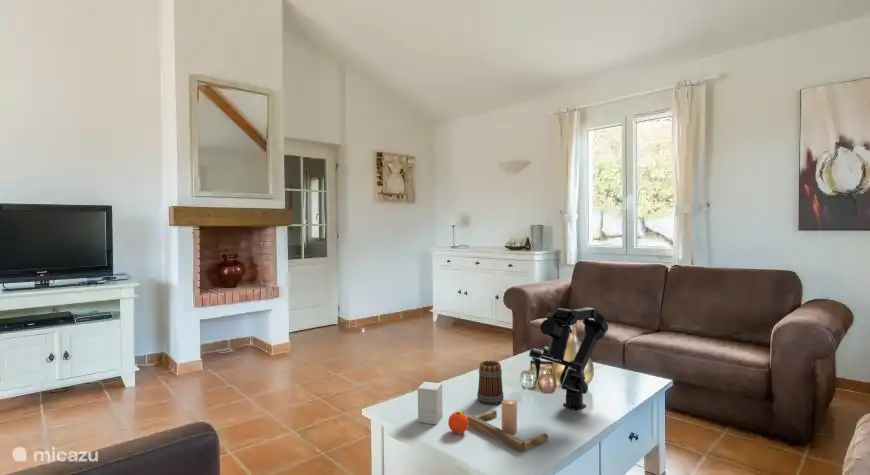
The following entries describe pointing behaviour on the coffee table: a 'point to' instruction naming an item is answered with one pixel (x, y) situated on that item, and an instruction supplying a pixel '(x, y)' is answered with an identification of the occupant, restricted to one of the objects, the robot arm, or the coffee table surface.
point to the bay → (503, 432)
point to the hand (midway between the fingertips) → (549, 383)
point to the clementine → (458, 422)
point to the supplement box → (430, 403)
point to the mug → (490, 383)
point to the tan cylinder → (509, 416)
